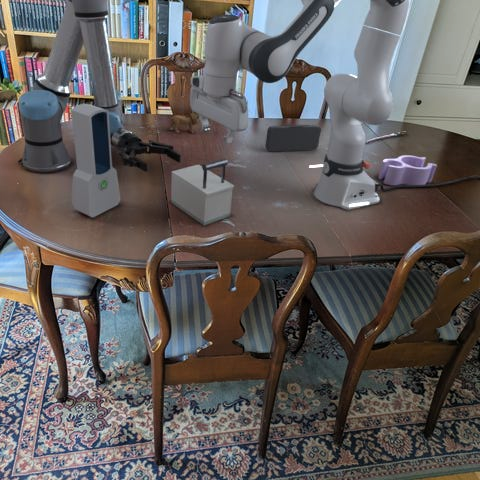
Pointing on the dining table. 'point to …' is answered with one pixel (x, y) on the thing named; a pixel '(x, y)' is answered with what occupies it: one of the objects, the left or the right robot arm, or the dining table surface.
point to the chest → (200, 202)
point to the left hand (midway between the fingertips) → (163, 163)
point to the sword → (384, 137)
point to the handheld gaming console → (292, 137)
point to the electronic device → (93, 162)
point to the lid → (205, 177)
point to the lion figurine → (185, 121)
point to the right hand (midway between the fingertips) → (216, 136)
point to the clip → (406, 171)
